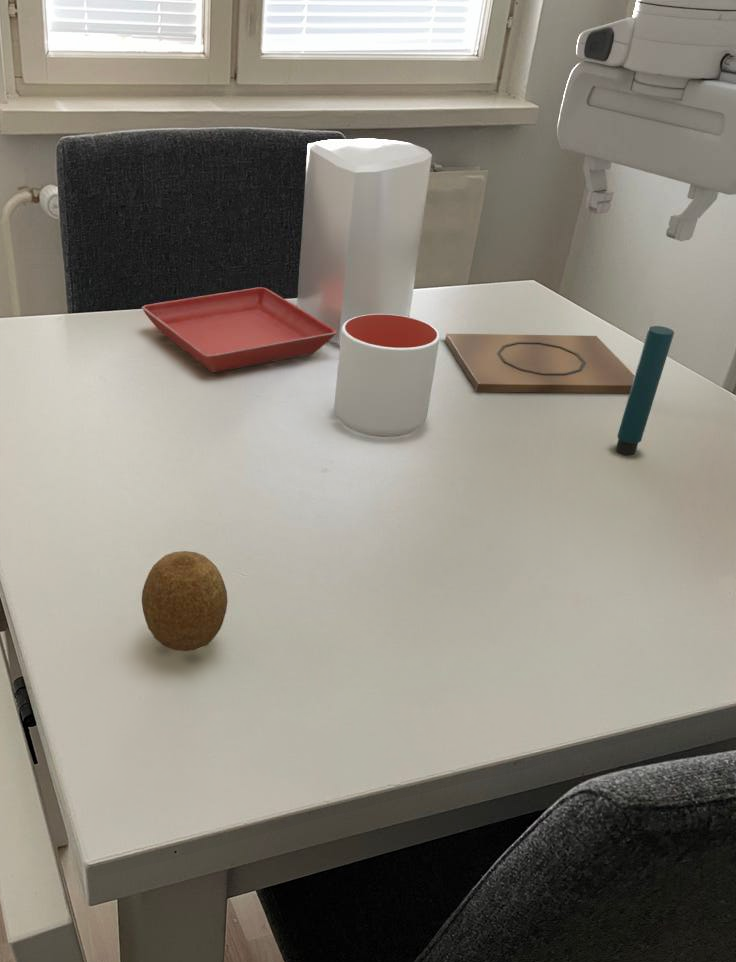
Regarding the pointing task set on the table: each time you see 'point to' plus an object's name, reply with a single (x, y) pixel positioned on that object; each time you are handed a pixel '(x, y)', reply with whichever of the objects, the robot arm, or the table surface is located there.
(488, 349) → the pad
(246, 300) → the plant saucer
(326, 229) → the silvery white canister
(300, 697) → the table surface
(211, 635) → the fruit
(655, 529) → the table surface
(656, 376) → the marker
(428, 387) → the cup
